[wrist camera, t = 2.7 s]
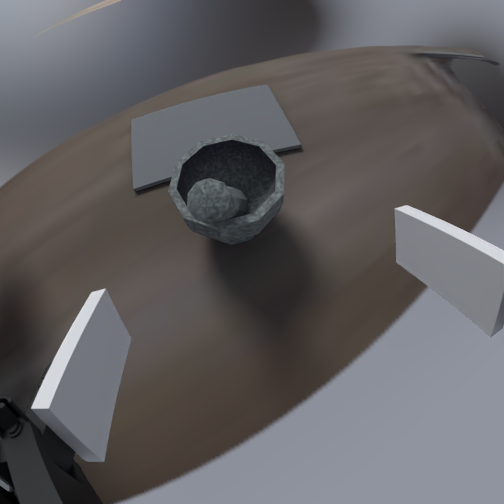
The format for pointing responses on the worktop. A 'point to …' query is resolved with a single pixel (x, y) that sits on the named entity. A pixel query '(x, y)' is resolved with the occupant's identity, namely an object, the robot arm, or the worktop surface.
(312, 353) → the worktop surface
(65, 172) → the worktop surface
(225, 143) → the mortar and pestle
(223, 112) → the rubber mat
